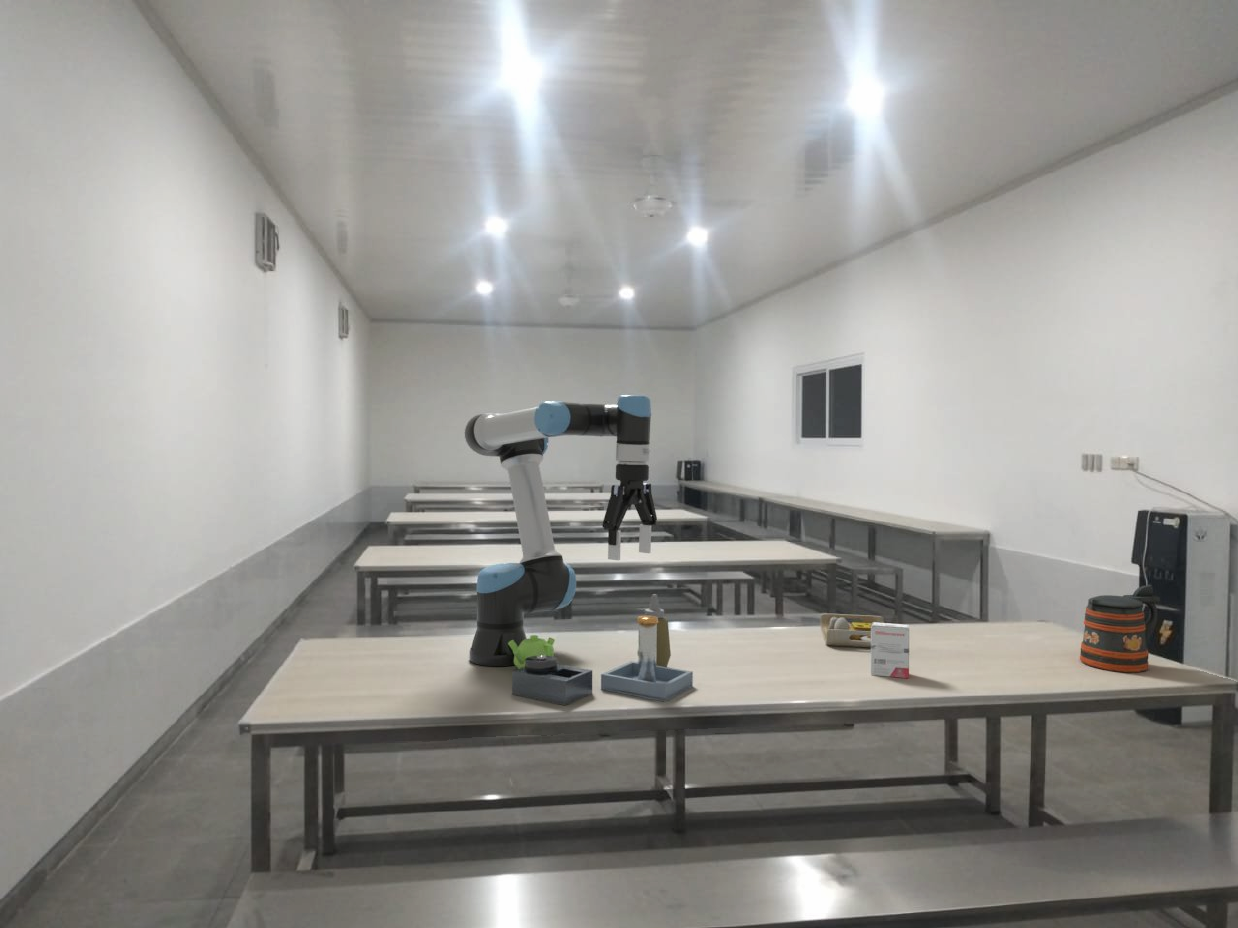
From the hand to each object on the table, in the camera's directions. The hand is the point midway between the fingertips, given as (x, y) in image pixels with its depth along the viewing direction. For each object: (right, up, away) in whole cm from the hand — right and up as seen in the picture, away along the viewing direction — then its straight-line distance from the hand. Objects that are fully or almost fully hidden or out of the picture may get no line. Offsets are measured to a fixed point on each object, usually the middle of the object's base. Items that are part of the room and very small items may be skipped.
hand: (629, 556), depth 182 cm
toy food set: (+65, -29, +43) cm, 83 cm away
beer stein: (+123, -29, +17) cm, 128 cm away
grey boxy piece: (-17, -29, -10) cm, 35 cm away
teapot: (-23, -28, +8) cm, 38 cm away
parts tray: (+4, -29, -5) cm, 29 cm away
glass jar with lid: (+4, -28, -5) cm, 29 cm away
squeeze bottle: (+6, -29, +10) cm, 31 cm away
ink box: (+62, -29, +7) cm, 69 cm away
